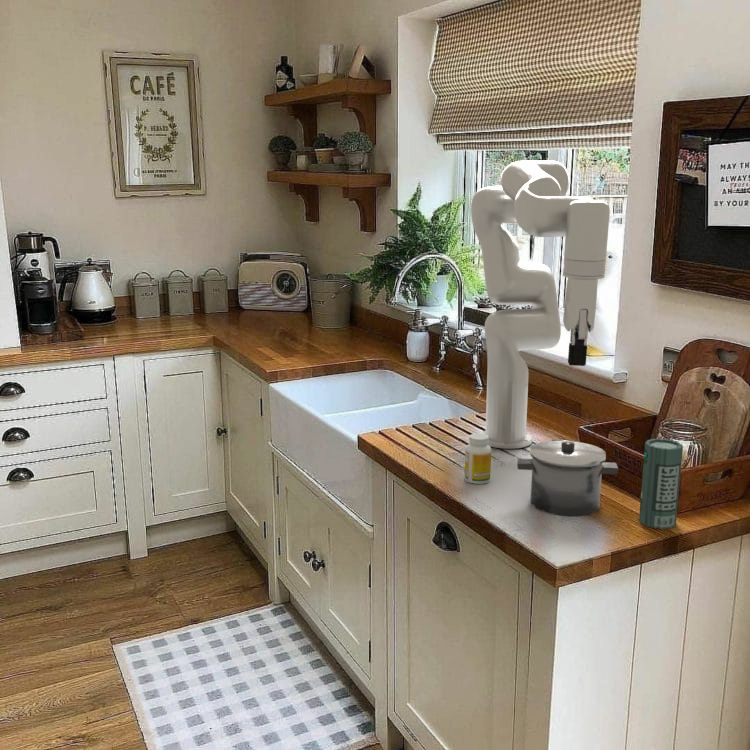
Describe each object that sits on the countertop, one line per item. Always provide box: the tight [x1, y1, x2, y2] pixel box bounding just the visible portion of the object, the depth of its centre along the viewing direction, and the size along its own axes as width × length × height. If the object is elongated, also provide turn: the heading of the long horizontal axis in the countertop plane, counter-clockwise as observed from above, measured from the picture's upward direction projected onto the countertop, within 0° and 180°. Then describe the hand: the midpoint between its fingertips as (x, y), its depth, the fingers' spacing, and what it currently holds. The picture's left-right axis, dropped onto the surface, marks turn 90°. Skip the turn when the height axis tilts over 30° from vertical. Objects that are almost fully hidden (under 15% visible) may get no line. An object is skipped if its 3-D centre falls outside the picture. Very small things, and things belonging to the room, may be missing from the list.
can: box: [638, 438, 684, 530], centre depth 149 cm, size 6×6×15 cm
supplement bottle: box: [464, 432, 492, 485], centre depth 170 cm, size 5×5×10 cm
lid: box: [529, 439, 607, 467], centre depth 157 cm, size 15×14×2 cm
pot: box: [516, 458, 619, 517], centre depth 158 cm, size 13×19×9 cm
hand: (576, 364), depth 157 cm, fingers closed
